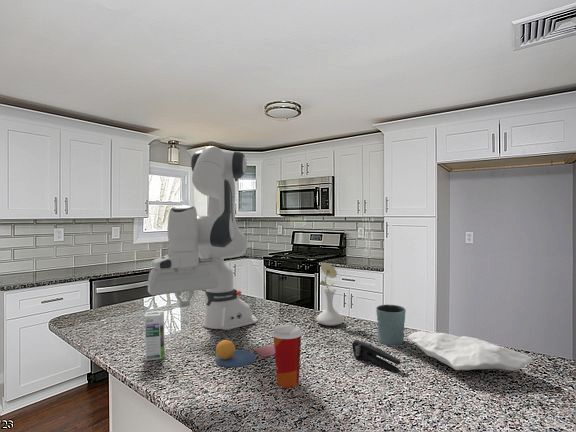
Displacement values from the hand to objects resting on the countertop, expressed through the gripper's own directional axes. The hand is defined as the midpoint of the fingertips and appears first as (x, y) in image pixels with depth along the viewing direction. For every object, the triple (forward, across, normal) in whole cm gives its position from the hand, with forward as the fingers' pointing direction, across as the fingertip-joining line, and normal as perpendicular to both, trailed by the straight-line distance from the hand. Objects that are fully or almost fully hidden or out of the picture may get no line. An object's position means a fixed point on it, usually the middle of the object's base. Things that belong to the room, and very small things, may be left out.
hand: (184, 306), depth 111 cm
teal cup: (+19, -69, +15) cm, 73 cm away
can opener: (+20, -52, +26) cm, 61 cm away
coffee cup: (+19, -22, +23) cm, 37 cm away
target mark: (+19, -16, 0) cm, 25 cm away
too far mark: (+19, -28, 0) cm, 34 cm away
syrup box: (+19, +6, -15) cm, 25 cm away
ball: (+16, -13, -1) cm, 21 cm away
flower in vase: (+19, -63, -14) cm, 67 cm away
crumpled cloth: (+19, -72, +41) cm, 85 cm away
